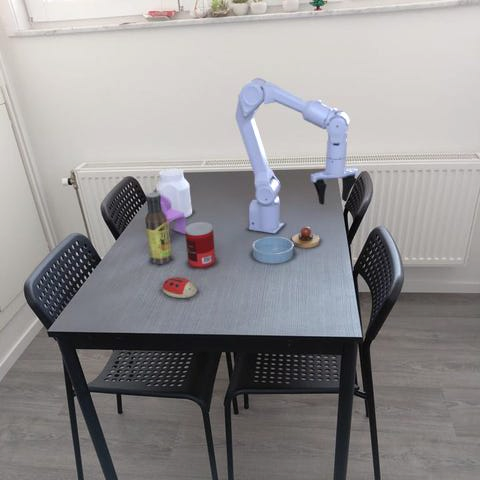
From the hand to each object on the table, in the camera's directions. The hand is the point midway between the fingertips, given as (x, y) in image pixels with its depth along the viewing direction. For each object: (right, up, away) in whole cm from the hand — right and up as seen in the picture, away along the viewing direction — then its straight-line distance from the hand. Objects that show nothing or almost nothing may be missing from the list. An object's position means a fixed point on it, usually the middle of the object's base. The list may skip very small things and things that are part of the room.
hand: (332, 201), depth 148 cm
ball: (-9, -10, -2) cm, 13 cm away
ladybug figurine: (-44, -29, -22) cm, 58 cm away
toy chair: (-51, -9, +8) cm, 53 cm away
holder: (-8, -12, 0) cm, 15 cm away
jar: (-52, +2, +24) cm, 57 cm away
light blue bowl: (-19, -17, -6) cm, 26 cm away
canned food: (-40, -20, -8) cm, 45 cm away
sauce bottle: (-52, -19, -6) cm, 55 cm away
